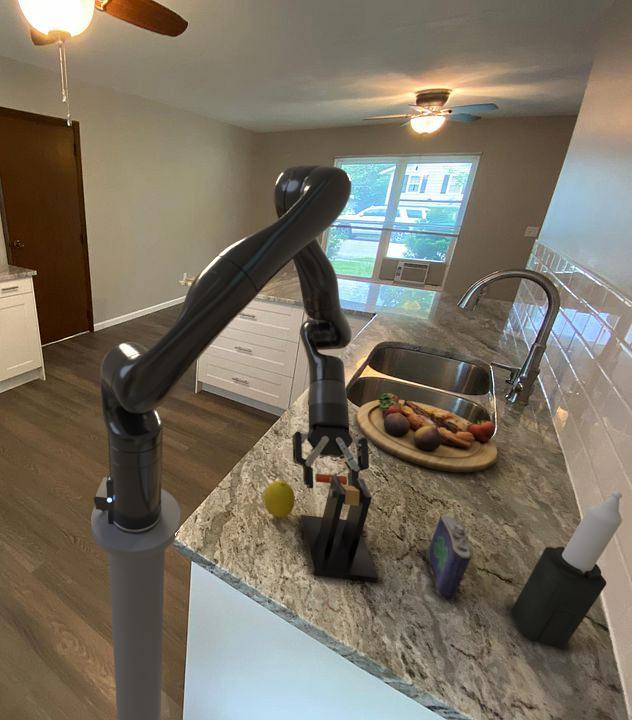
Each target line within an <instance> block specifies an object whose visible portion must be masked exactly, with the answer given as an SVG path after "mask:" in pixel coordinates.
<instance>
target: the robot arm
mask: <svg viewBox="0 0 632 720" xmlns="http://www.w3.org/2000/svg"><path fill="white" fill-rule="evenodd" d="M352 188H353V187H352V180H351V177H350V175H349V174H348V172H347V171H345V170H344V169H342V168H340V167H337V166H333V165H323V164H320V165H319V164H295V165H291V166H289V167H286V168H285V169H283V170H282V172H281V173H280V174H279V175H278V177H277V179H276V182H275V184H274V189H273V207H274V210H275V214H276V217H277V220H275V221H274V222H272V223H271V224H269V225H267V226H265V227H263V228H262V229H260V230H258V231H256V232H253V233H251V234H249V235H247V236H245V237H243V238H240V239H239V240H237V241H235V242H233V243H231V244H229V245H227V246H226V247H224V249H222V250H221V251H220V252H219V253H218V254H217V255H215V257H214V258H213V259H212V260H210V262H208V264H207V265H206V266H205V267H203V269H202V270H200V272H199V273H197V276H196V277H195V278H194V279H193V281H192V283H191V285H190V287H189V288H188V291H187V293H186V295H185V298H184V301H183V304H182V306H181V309H180V311H179V313H178V316H177V318H176V320H175V321H174V323H173V324H172V326H171V327H170V328H169V329H168V331H167V332H166V333H165V334H164V335H163V336H162V337H161V338H160V339H159V340H158V341H157V342H156V343H155V344H154V345H152V347H150V349H148V348H147V347H145V346H144V345H142V344H140V343H137V342H134V341H123V342H121V343H118V344H115V345H114V346H113V347H111V348H110V349H109V350H108V351H107V353H106V354H105V356H104V357H103V360H102V362H101V366H100V372H99V385H100V396H101V407H102V408H101V409H102V416H103V421H104V425H105V428H106V432H107V447H108V449H107V450H108V470H109V474H108V476H107V477H105V476H104V477H103V478H102V480H101V481H100V485H99V487H98V489H97V491H96V494H94V497H93V502H94V505H96V509H97V510H101V511H102V512H103V511H105V510H106V511H108V524H113V525H114V526H115V527H116V528H117V529H119V530H120V531H122V532H125V533H129V534H140V533H144V532H147V531H149V530H151V529H153V528H154V527H155V526H156V525H157V524H158V523H159V521H160V519H161V515H162V509H161V491H162V489H163V488H162V487H163V482H162V481H163V435H164V434H163V432H164V427H163V421H162V419H161V416H160V414H159V412H158V409H157V408H159V407H160V406H161V405H162V404H164V403H165V402H166V401H167V399H168V398H169V397H170V396H171V395H172V394H173V392H174V391H175V390H176V389H177V387H178V386H179V385H180V383H181V382H182V381H183V379H184V378H185V377H186V375H188V373H189V372H190V370H191V369H192V367H193V366H194V365H195V364H196V363H197V362H198V360H199V358H201V357H202V355H203V354H204V353H205V352H206V350H207V349H208V348H209V347H210V346H211V345H212V344H213V343H214V342H215V341H216V339H218V338H219V336H220V335H221V334H222V333H223V331H225V330H226V328H227V327H228V326H229V325H230V324H231V323H233V321H234V320H235V319H236V318H237V317H238V316H240V314H241V313H242V312H243V311H244V310H245V309H246V308H247V307H248V306H249V305H251V303H252V302H253V301H254V300H255V299H256V298H257V296H258V295H260V293H261V292H262V291H263V290H264V289H265V288H266V286H267V285H268V284H269V283H270V282H271V281H272V280H273V279H274V278H275V277H276V276H277V275H278V274H279V273H280V272H281V271H282V270H283V269H284V268H285V267H286V266H287V265H288V264H289V263H290V262H291V261H293V263H294V266H295V271H296V272H297V278H298V281H299V287H300V293H301V299H302V306H303V311H304V314H305V316H306V317H308V318H309V319H307V320H305V321H304V322H303V323H301V325H300V328H299V338H300V342H301V345H302V348H303V350H304V353H305V356H306V361H307V367H308V378H309V379H308V384H309V385H308V395H307V407H308V408H307V409H308V432H307V433H304V432H303V433H302V432H301V431H299V430H298V431H297V430H296V431H295V433H293V434H292V462H293V464H294V465H299V466H301V468H302V476H303V478H302V482H303V484H304V486H306V489H310V490H311V489H314V467H312V465H313V464H314V462H316V459H317V458H318V457H325V458H326V457H330V458H334V459H337V458H339V460H340V461H341V463H342V464H344V466H345V467H346V469H347V471H348V472H347V486H354V487H355V484H356V481H357V479H360V476H359V475H360V472H361V471H364V470H368V469H369V468H370V458H369V442H368V440H369V439H368V438H367V437H361V438H358V437H352V435H351V433H350V417H349V402H348V392H347V388H346V375H345V374H346V373H345V364H344V361H343V360H342V358H340V357H338V356H335V355H330V354H324V353H321V352H319V351H331V350H341V349H344V348H346V347H347V346H349V344H350V343H351V341H352V336H353V335H352V334H353V333H352V329H351V326H350V323H349V320H348V319H347V317H346V315H345V314H344V311H343V309H342V307H341V302H340V293H339V292H340V291H339V281H338V277H337V273H336V271H335V268H334V266H333V264H332V262H331V260H330V259H329V257H328V255H327V254H326V252H325V251H324V249H323V248H322V245H321V244H320V242H319V239H318V237H319V236H321V235H322V234H323V233H324V232H325V231H326V230H327V229H328V228H329V227H330V226H332V225H333V224H334V223H335V222H336V221H337V220H338V218H339V217H340V216H341V215H342V213H343V211H344V210H345V208H346V206H347V205H348V202H349V200H350V198H351V194H352ZM306 440H307V442H308V444H309V445H310V446H311V450H310V451H309V453H308V454H307V456H306V458H305V457H303V444H304V443H305V442H306ZM351 445H352V446H353V448H354V449H355V450H356V459H357V460H355V459H354V455H353V454H352V453H351V451H350V450H349V447H350V446H351ZM356 461H357V462H356Z"/></svg>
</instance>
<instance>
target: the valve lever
mask: <svg viewBox="0 0 632 720" xmlns="http://www.w3.org/2000/svg"><path fill="white" fill-rule="evenodd" d="M332 476H336V477H338V478H339V480H340V483H341V485H342V488H343V490H344V493H345V499H344V503H343V505H347V506H350V505H355V506H359V493H360V491H359V490H358V489H356V488H355V487H354V486H348V477H347V476H345V475H336V474H325V473H315V475H314V479H315V482H316V483H323V484H329V485H330V484H331V480H332Z"/></svg>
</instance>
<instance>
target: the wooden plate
mask: <svg viewBox="0 0 632 720" xmlns="http://www.w3.org/2000/svg"><path fill="white" fill-rule="evenodd" d="M355 422H356V425H357V427H358V429H359V431H360V432H361V433H362V434H363V435H364V436H365V438H366V439H367V440H369V441H370V442H371V443H373V444H374V445H375V446H377V447H379V448H380V449H382V450H384V452H387V453H388V454H390V455H392V456H394V457H397V458H399V459H401V460H403V461H407V462H409V463H412V464H415V465H418V466H422V467H424V468H428V469H432V470H437V471H443V472H450V473H472V472H473V473H474V472H480V471H483V470H486V469H488V468H490V467H492V466H493V465H494V464H495V463H496V462H497V460H498V456H499V451H498V448H497V445H496V443H495V442H494V440H493V439H492V437H493V436H494V433H495V430H496V427H495V424H494V423H493V422H492V421H489V420H482V419H480V420H478V419H477V420H476V421H473V420H471V422H470V421H469V420H467V419H465V418H463V417H462V416H459V415H457V414H455V413H454V412H451V411H449V410H444V409H443V408H439V407H436V406H433V405H429V404H425V403H421V402H417V401H411V400H408V399H405V400H404V399H399V397H398V395H397V394H394V393H390V392H388V393H386V392H384V393H381V396H380V397H379V398H378V399H376V400H373V401H369V402H367V403H364V404H363V405H361V406H360V407H359V408H358V409H357V411H356V414H355Z"/></svg>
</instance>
